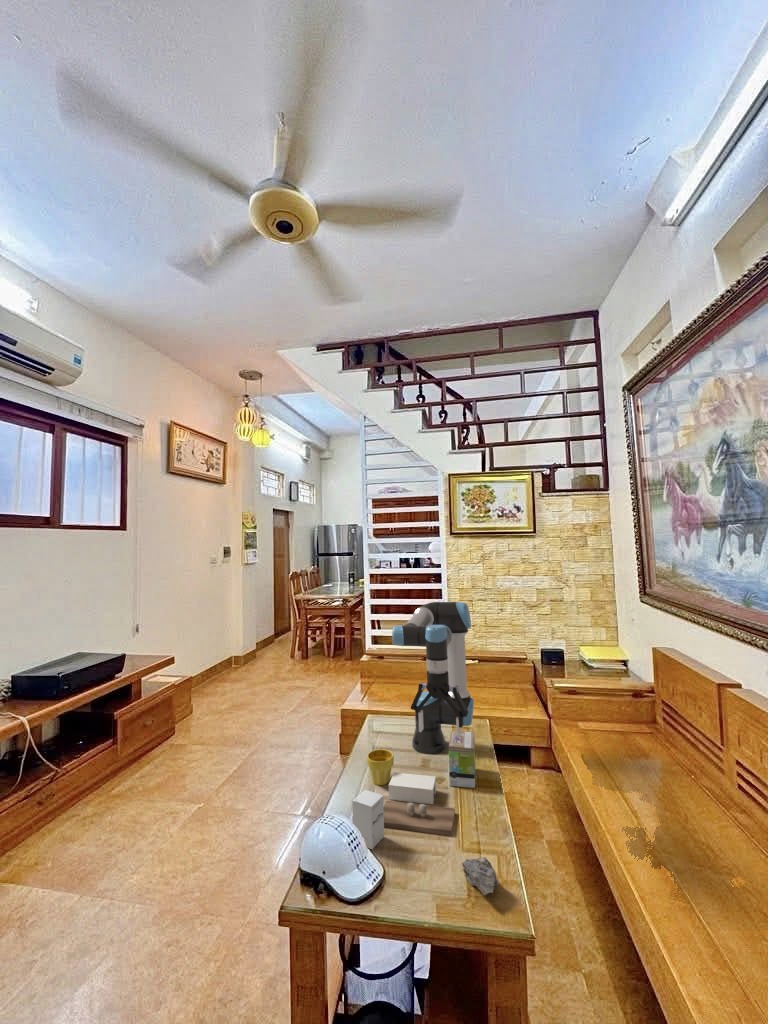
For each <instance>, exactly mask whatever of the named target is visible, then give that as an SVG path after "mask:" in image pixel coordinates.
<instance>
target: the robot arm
mask: <svg viewBox="0 0 768 1024" xmlns="http://www.w3.org/2000/svg"><path fill="white" fill-rule="evenodd" d="M471 620H472V619H471V613H470V609H469V606H468V604H467V603H466V602H462V601H431V602H428V603H425V604H423V605H421V606H420V607H417V609H415V611H414V612H413V614H412V617H411V618H409V620H407V622H406V623H405V624H403V625H401V624H400V625H394V626H393V627H392V631H391V632H392V633H391V639H392V644H393V645H394V646H398V647H399V646H400V647H423V648H424V647H425V649H426V650H425V653H426V656H425V657H426V660H425V661H426V670H427V671H426V683H424V682H423V681H422V682H420V683H419V684H418V688H417V692H416V694H415V696H414V698H413V701H412V703H411V706H410V710H412V711H414V715H415V716H414V719H415V723H414V724H415V729H414V733H413V735H412V736H413V737H412V742H411V743H412V748H413V750H415V751H417V752H419V753H422V754H437V753H440V752H442V751H445V749H446V747H447V745H446V739H445V736H444V732H443V730H442V725H447V726H456V731H457V738H460V736H461V732H462V728H463V727H469V726H471V725H472V723H473V716H474V708H475V707H474V705H475V699H474V698H473V697H471V693H470V691H468V687H467V664H466V638H465V637H466V636H467V634H468V633H469V629H471V627H472V621H471ZM425 689H426V690H427V691H424V690H425Z"/></svg>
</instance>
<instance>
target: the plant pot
mask: <svg viewBox="0 0 768 1024" xmlns="http://www.w3.org/2000/svg"><path fill="white" fill-rule="evenodd" d="M394 760H395V759H394V753H393V752H392V751H391V750H388V749H383V748H379V749H373V750H371V751H369V752H368V753H367V755H366V761H367V763H366V765H367V767H368V768H369V772H370V776H371V780H372V783H373V784H374V785H376V786H385V785H387V784H389V783H390V780H391V773H392V768H393V765H394Z"/></svg>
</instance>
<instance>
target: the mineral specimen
mask: <svg viewBox="0 0 768 1024" xmlns="http://www.w3.org/2000/svg"><path fill="white" fill-rule="evenodd" d="M461 866H462V867H463V869H462V870H463V873H464V874H465V875H464V877H465V879H466V881H468V883H469V884H470V887H474V886H475V887H476V888H477V889H478V891H480V892H481V894H483V896H487V895H488V894H491V893H492V894H493V893H494V889H495V888H496V887H500V886H499V884H500V882H499V879H498V877H497V874H496V871H495V869H494V867H493V866H492V863H491V862H490V861H489V860H488V858H486V857H485V856H483V857H482V856H481V857H478V858H467V859H465V860H464V861H463V862H461Z"/></svg>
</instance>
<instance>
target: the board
mask: <svg viewBox="0 0 768 1024" xmlns="http://www.w3.org/2000/svg"><path fill="white" fill-rule="evenodd" d="M455 815H456V808H454V807H453V808H452V807H444V806H436V805H430V804H424V803H415V802H404V801H396V800H386V801H385V802H384V828H388V829H396V830H404V831H410V832H419V833H426V834H434V835H441V836H450V837H452V835H453V830H454V829H453V828H454V822H455Z"/></svg>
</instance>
